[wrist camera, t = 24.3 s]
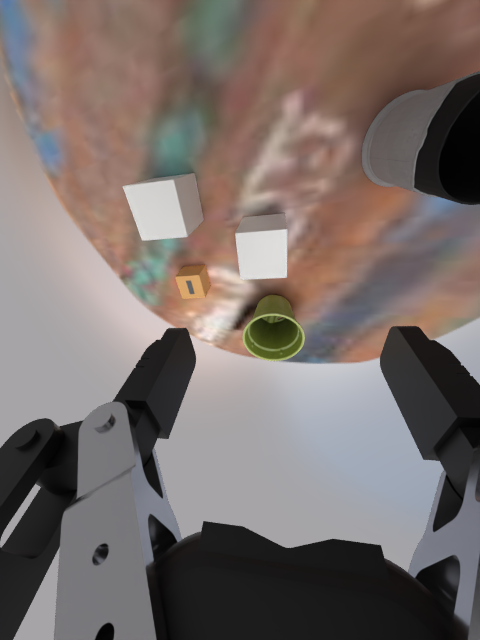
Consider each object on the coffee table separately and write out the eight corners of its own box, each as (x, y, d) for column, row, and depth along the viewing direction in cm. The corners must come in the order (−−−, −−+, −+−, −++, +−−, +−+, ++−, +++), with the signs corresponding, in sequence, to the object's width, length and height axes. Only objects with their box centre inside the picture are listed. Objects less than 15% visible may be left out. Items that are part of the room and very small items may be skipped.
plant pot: (237, 303, 42) (230, 333, 35) (280, 275, 38) (281, 303, 31) (267, 335, 46) (266, 368, 39) (309, 312, 42) (316, 345, 35)
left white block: (153, 178, 32) (122, 186, 25) (194, 172, 31) (173, 179, 24) (166, 223, 35) (142, 240, 29) (203, 220, 34) (187, 236, 28)
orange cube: (183, 266, 39) (174, 277, 36) (205, 264, 39) (199, 275, 35) (189, 287, 42) (182, 299, 38) (210, 285, 41) (205, 297, 38)
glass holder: (377, 90, 24) (475, 34, 12) (526, 88, 23) (801, 23, 11) (351, 185, 29) (403, 211, 17) (472, 188, 28) (616, 219, 16)
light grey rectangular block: (242, 217, 33) (235, 233, 27) (285, 213, 32) (287, 229, 26) (246, 256, 37) (240, 279, 30) (284, 254, 36) (286, 277, 29)
